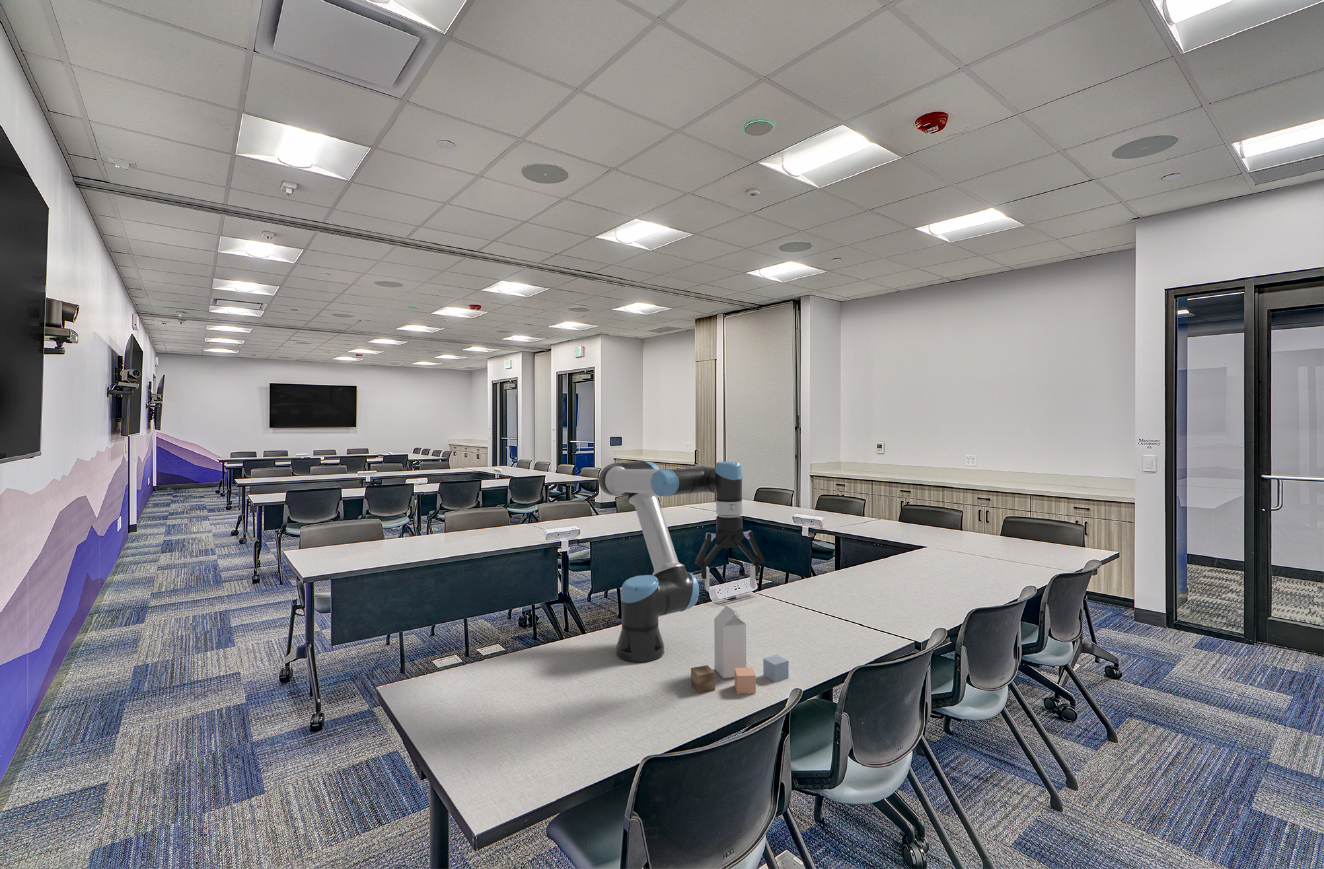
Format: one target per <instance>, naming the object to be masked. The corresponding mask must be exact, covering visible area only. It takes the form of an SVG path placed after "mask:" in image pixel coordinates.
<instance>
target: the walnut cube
mask: <svg viewBox="0 0 1324 869" xmlns="http://www.w3.org/2000/svg"><path fill="white" fill-rule="evenodd" d="M690 686H691V687H692V688H693V690H694V691H695V692H696V693H697V694H704V693H709V692H713V691H716V672H715V671H714V670H713V669H712V668H711V667H710V666H709V664H708V665H707V664H706V665H701V666H700V665H699V666H695V667H691V668H690Z"/></svg>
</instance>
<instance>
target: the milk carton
mask: <svg viewBox="0 0 1324 869" xmlns="http://www.w3.org/2000/svg"><path fill="white" fill-rule="evenodd" d="M741 616H742V614H741V613H740V612H739V611H737V610H734V609H733V608H732V607H730V606H729V605H728V604H726V603H725V604H724V608H723V609H722V610H721V611H720V612H719V613H718V614H717V615H716V616H715V617H714V618H713V620H714V622H713V623H714V628H713V630H714V637H713V638H714V670H715V671H716V672H717V673H718V674H719V676H720V677H721V678H722V679H730V678H734V668H747V624H746V623H745V622H744V621H743V620H742V619H741V618H740V617H741Z"/></svg>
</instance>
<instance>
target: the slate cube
mask: <svg viewBox="0 0 1324 869" xmlns="http://www.w3.org/2000/svg"><path fill="white" fill-rule="evenodd" d="M762 662H763V664H762V668H763V669H762V670H763V673H762V675H763V676H764V677H765V678H767V679H769V681H772V682H774V683H777V682H779V681H780V682H781V681H783V680H788V679H789V677H790V676H789V667H790V666H789V660H787V659H786V658H784V657H782V656H780V655H778V654H775V655H772V656H768V657H763V659H762Z"/></svg>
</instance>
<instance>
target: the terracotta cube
mask: <svg viewBox="0 0 1324 869" xmlns="http://www.w3.org/2000/svg"><path fill="white" fill-rule="evenodd" d="M755 673H756V672H755V670H754V668H753V667H746V668H734V677H733V680H734V684H733V685H734V688H735V691H737V692H736V694H737V695H739V694H738V693H756V694H757V690H756V689H757V687H756V686H757V681H756V679H757V675H756V674H755Z"/></svg>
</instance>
